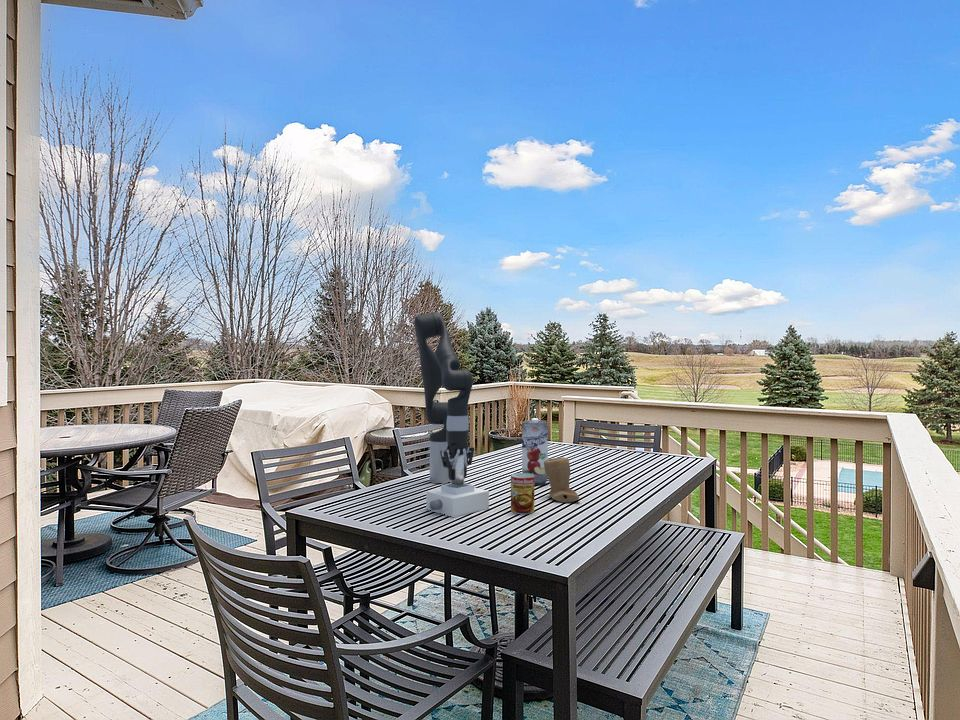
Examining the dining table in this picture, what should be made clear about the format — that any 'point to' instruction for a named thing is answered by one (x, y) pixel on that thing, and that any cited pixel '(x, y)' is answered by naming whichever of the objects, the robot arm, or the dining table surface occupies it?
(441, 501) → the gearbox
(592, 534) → the dining table surface
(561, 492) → the tan suede boot
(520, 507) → the canned food
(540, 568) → the dining table surface
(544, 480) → the juice carton
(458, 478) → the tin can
